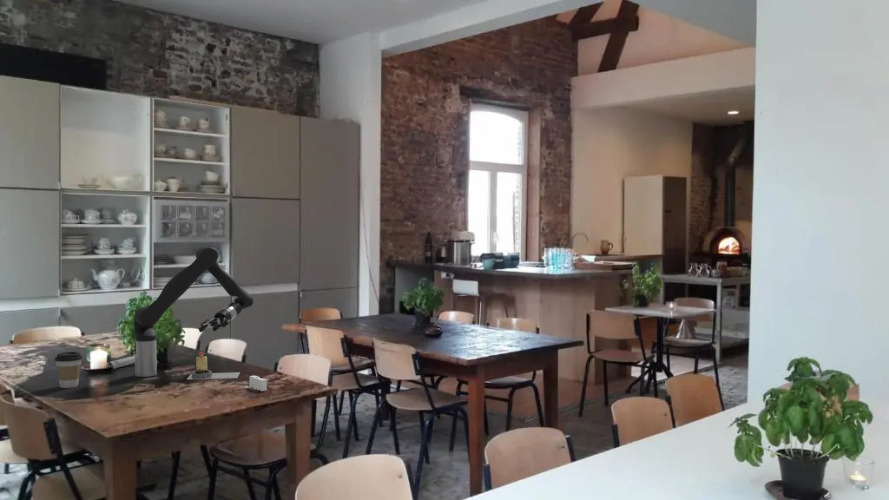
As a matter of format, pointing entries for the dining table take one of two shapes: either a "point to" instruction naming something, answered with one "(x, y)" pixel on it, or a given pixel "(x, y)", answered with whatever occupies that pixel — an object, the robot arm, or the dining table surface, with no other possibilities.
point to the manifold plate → (212, 375)
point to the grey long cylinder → (122, 362)
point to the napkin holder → (258, 383)
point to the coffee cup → (68, 368)
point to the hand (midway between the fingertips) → (206, 330)
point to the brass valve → (201, 363)
